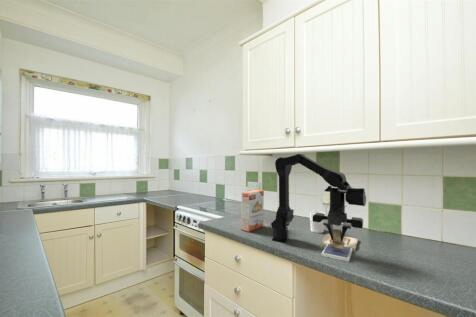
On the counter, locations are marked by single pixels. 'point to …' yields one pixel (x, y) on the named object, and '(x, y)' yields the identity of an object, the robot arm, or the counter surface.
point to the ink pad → (337, 253)
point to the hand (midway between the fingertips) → (337, 240)
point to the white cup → (316, 223)
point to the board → (348, 241)
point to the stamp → (337, 240)
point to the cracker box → (252, 210)
